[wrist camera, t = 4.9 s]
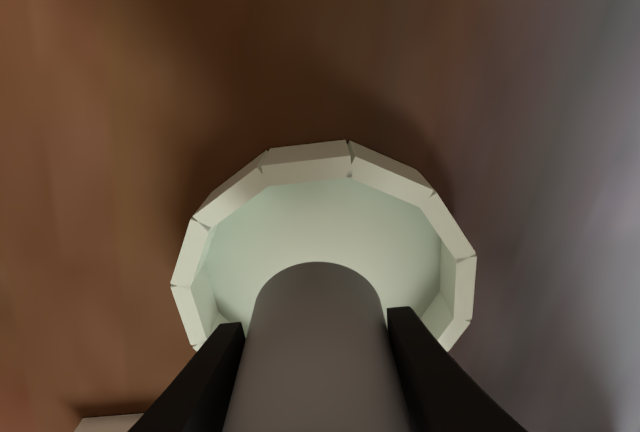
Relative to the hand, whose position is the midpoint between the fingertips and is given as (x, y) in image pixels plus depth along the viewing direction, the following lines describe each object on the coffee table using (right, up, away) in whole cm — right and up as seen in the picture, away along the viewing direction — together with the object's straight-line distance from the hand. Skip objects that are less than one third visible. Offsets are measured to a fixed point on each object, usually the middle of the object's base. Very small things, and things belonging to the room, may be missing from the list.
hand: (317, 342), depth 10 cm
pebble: (0, 0, +1) cm, 1 cm away
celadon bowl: (0, +1, +8) cm, 8 cm away
